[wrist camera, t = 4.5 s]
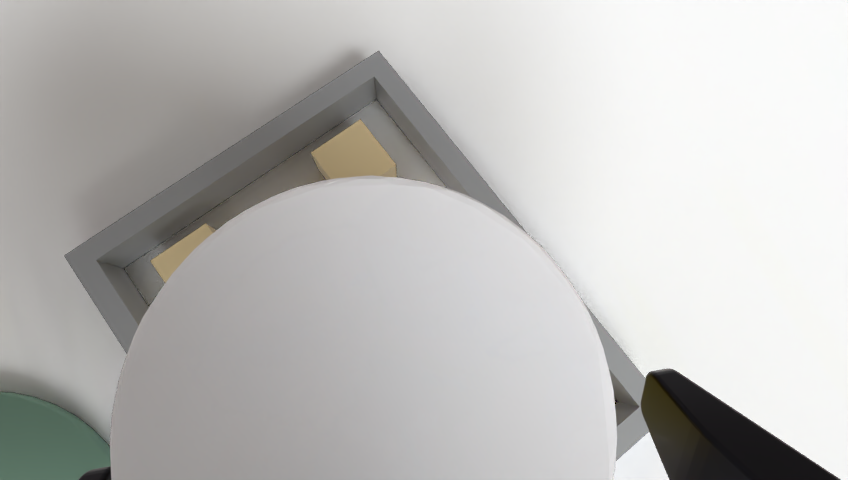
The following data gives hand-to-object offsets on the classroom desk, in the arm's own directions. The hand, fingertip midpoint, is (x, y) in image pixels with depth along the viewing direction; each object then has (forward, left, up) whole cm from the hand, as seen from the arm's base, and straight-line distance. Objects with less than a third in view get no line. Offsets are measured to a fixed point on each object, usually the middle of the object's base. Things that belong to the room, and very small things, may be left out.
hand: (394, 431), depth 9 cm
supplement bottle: (+1, 0, -9) cm, 9 cm away
